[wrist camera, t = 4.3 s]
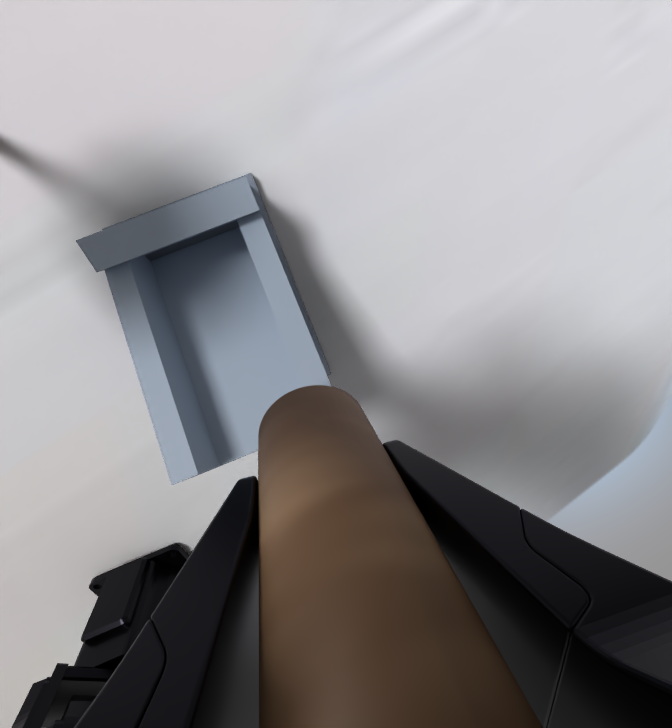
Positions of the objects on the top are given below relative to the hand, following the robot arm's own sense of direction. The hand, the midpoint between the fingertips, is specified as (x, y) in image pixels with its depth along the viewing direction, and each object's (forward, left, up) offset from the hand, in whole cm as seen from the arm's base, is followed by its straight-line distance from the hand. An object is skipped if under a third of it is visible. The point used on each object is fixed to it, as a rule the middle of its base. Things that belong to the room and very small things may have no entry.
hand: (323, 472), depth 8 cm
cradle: (+1, +2, -12) cm, 12 cm away
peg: (0, 0, -2) cm, 2 cm away
